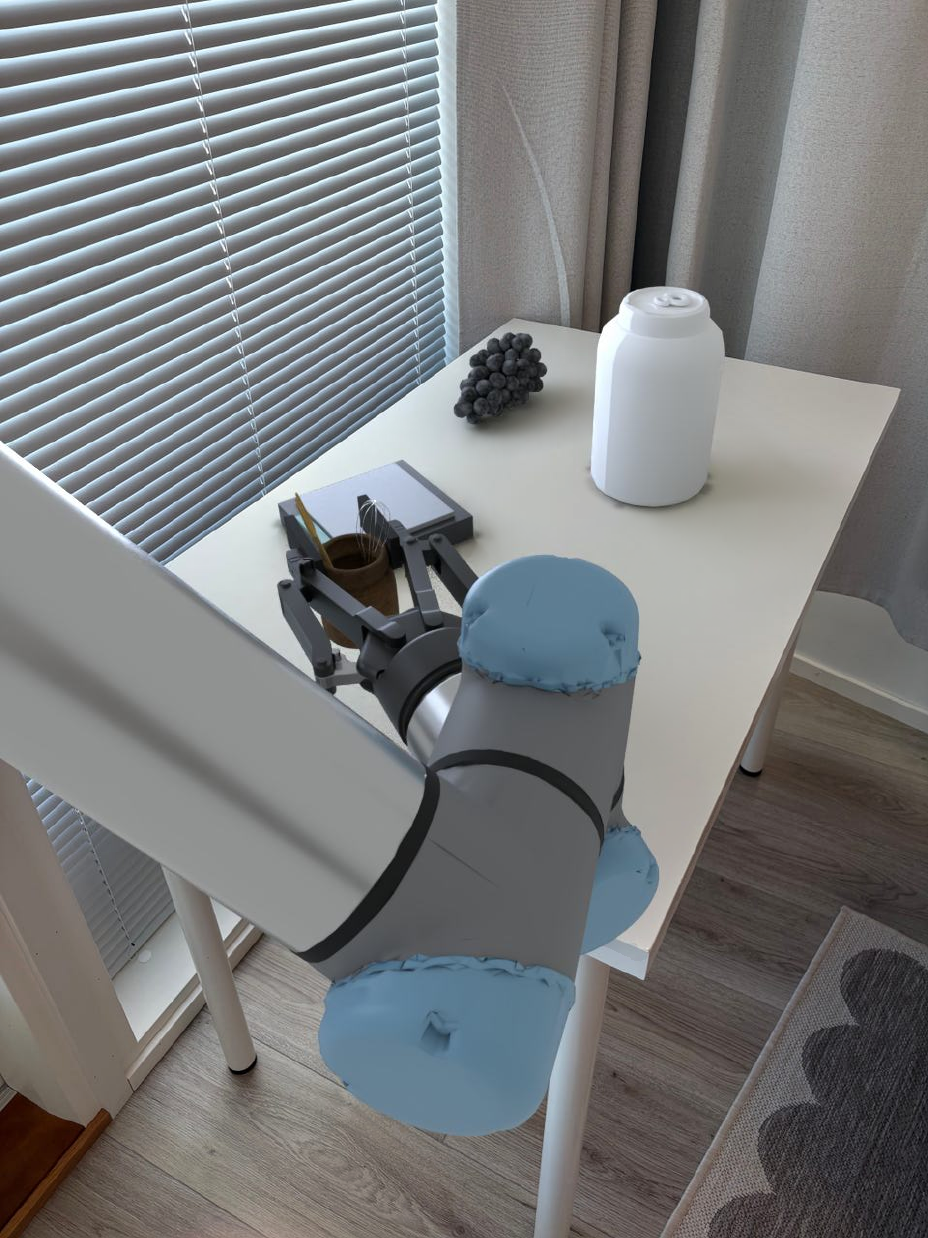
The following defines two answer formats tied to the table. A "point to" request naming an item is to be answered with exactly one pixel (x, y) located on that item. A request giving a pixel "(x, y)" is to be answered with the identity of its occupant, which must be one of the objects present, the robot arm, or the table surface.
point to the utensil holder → (356, 570)
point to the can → (656, 397)
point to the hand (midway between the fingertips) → (327, 520)
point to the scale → (398, 491)
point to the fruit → (500, 377)
